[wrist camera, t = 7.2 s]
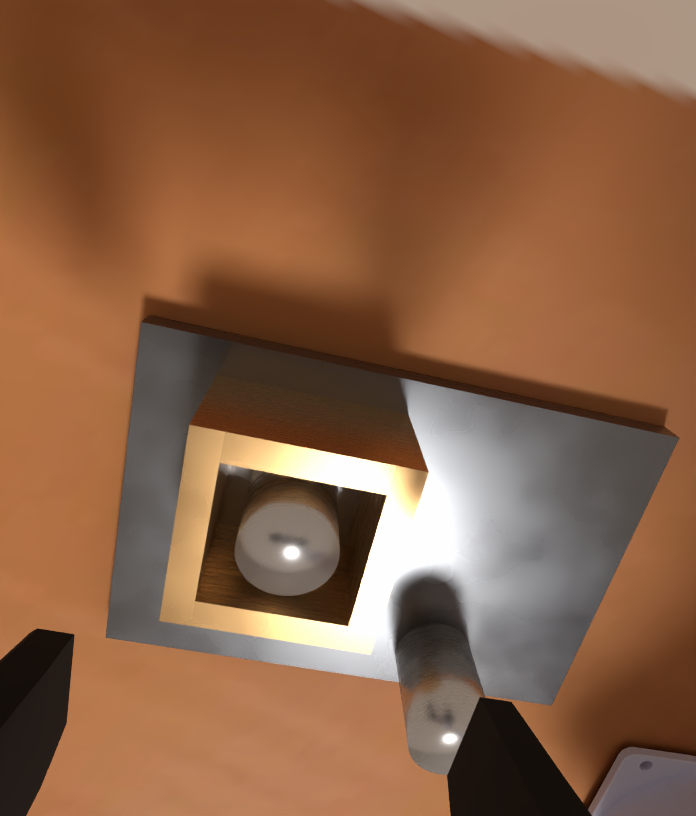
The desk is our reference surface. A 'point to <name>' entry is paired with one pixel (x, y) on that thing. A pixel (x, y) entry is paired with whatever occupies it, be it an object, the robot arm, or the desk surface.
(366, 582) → the collar
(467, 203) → the desk surface
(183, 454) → the steel plate
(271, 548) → the post
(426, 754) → the post
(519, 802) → the robot arm
